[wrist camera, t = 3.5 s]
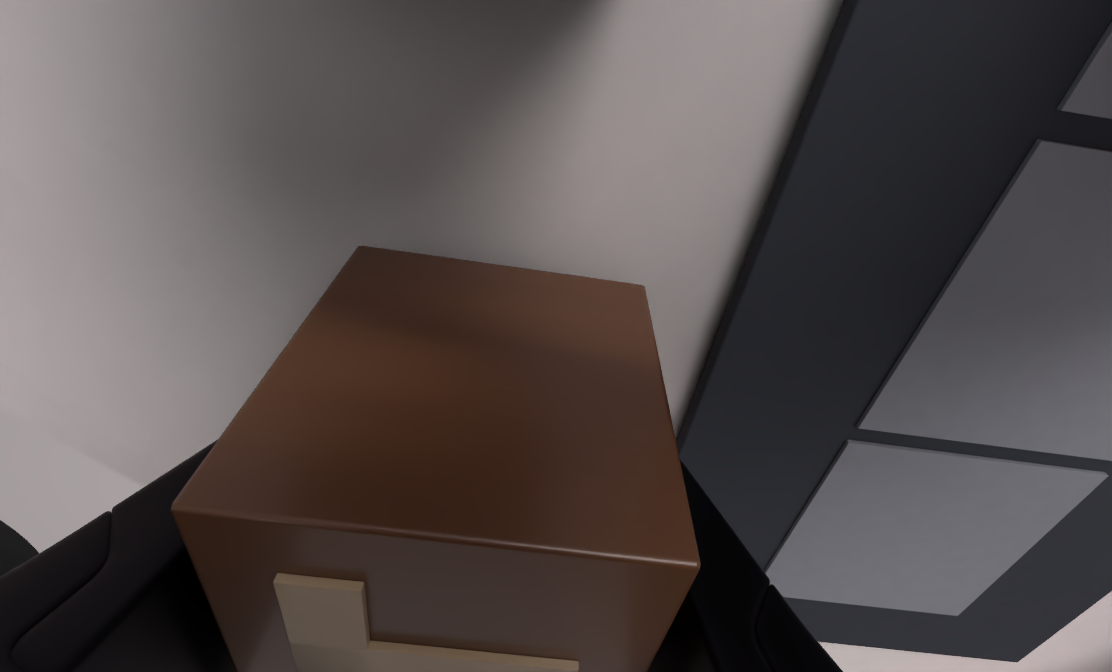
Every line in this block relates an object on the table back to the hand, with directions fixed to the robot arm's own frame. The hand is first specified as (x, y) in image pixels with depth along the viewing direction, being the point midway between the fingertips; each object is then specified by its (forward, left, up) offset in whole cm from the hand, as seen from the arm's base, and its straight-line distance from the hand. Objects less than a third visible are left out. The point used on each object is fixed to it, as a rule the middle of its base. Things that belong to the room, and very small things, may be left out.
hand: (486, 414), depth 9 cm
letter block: (0, 0, -1) cm, 1 cm away
